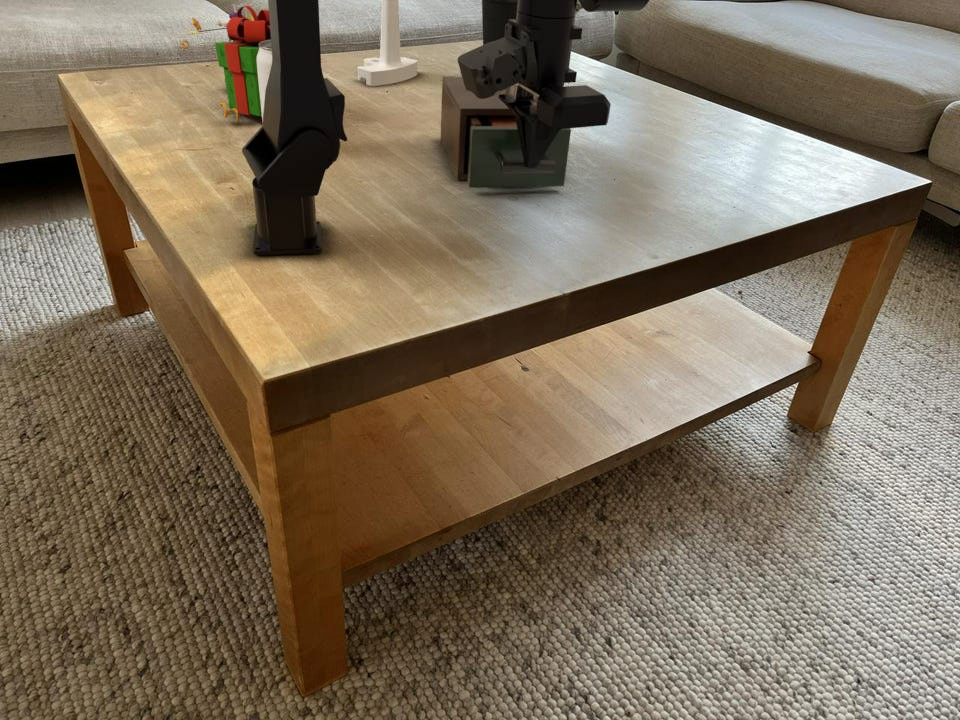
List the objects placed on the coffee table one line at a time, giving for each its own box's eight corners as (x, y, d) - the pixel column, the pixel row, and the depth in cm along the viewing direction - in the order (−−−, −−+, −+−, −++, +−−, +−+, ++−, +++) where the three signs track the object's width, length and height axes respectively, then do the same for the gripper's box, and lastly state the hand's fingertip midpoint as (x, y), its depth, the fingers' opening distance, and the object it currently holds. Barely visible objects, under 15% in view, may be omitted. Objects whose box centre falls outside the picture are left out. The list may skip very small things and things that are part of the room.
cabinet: (557, 178, 95) (565, 109, 90) (457, 180, 92) (460, 108, 87) (530, 141, 105) (536, 77, 101) (440, 142, 103) (442, 76, 98)
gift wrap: (280, 103, 119) (271, 1, 112) (355, 121, 107) (349, 8, 101) (156, 118, 106) (137, 4, 99) (225, 140, 94) (209, 13, 88)
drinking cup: (469, 85, 127) (476, -51, 116) (482, 74, 133) (490, -56, 122) (514, 91, 125) (525, -45, 114) (525, 80, 131) (537, -51, 120)
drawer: (574, 200, 87) (582, 142, 83) (476, 202, 85) (479, 142, 81) (537, 149, 100) (542, 97, 96) (451, 150, 98) (454, 96, 94)
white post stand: (376, 87, 122) (374, -53, 111) (343, 77, 126) (338, -60, 115) (422, 75, 130) (425, -57, 118) (390, 66, 133) (389, -64, 122)
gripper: (434, -5, 78) (430, 145, 87) (514, 37, 64) (500, 209, 73) (530, -6, 82) (517, 137, 91) (625, 33, 69) (599, 196, 77)
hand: (530, 167), depth 83 cm, fingers closed
